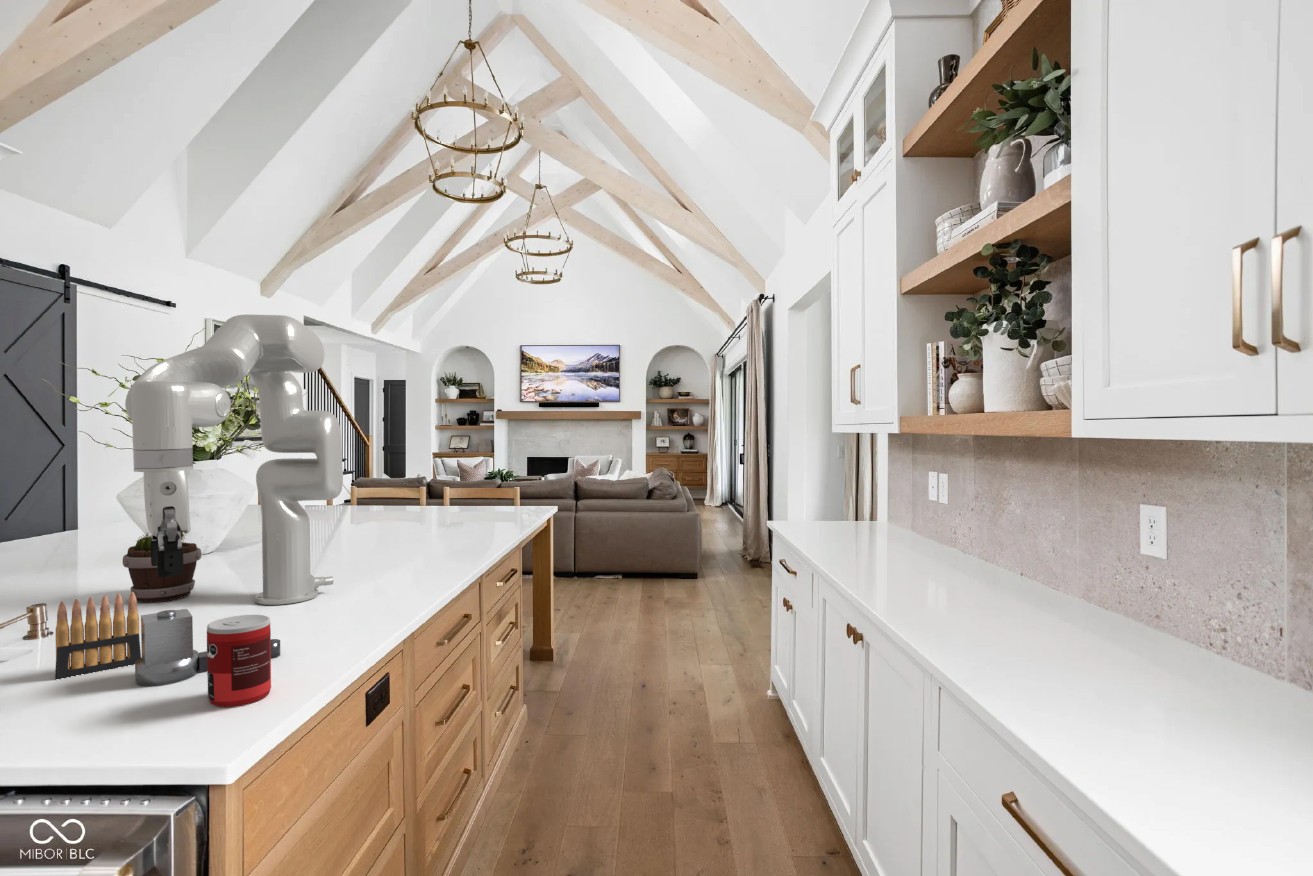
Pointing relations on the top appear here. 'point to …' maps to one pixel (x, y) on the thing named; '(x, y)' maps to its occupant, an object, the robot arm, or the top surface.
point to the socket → (166, 636)
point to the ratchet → (180, 668)
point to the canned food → (238, 660)
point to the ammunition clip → (96, 638)
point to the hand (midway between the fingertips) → (167, 569)
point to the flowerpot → (146, 576)
